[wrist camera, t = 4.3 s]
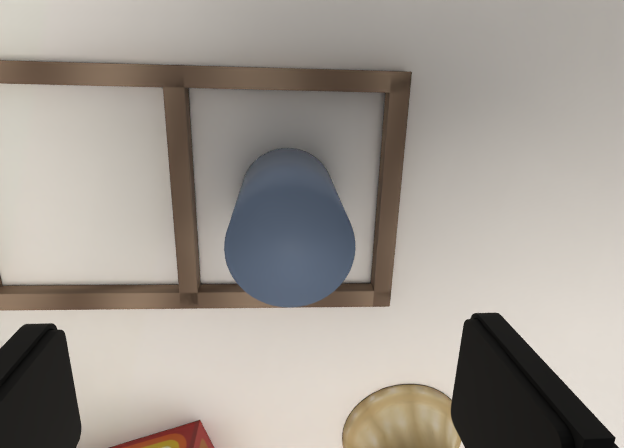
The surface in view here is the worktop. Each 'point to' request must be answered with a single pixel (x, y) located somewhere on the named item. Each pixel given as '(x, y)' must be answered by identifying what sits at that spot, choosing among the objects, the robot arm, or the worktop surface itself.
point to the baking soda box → (174, 438)
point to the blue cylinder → (289, 231)
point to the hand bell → (402, 420)
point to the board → (183, 189)
